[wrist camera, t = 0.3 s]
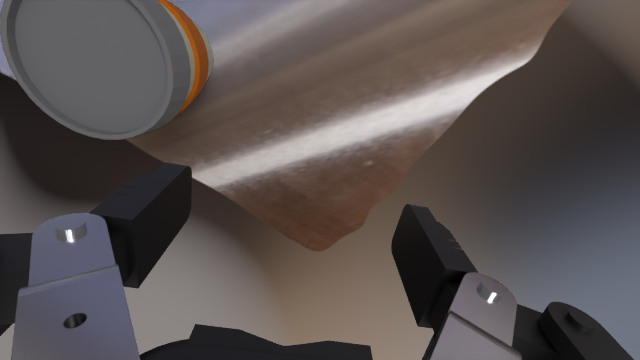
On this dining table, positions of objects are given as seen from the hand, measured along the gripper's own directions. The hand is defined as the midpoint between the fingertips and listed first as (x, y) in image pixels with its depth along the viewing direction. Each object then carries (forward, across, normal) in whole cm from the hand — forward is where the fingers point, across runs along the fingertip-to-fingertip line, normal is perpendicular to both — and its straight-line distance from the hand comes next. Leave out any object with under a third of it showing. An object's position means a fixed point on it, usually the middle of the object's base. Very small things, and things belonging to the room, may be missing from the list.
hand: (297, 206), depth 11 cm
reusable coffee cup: (+29, +17, -1) cm, 34 cm away
